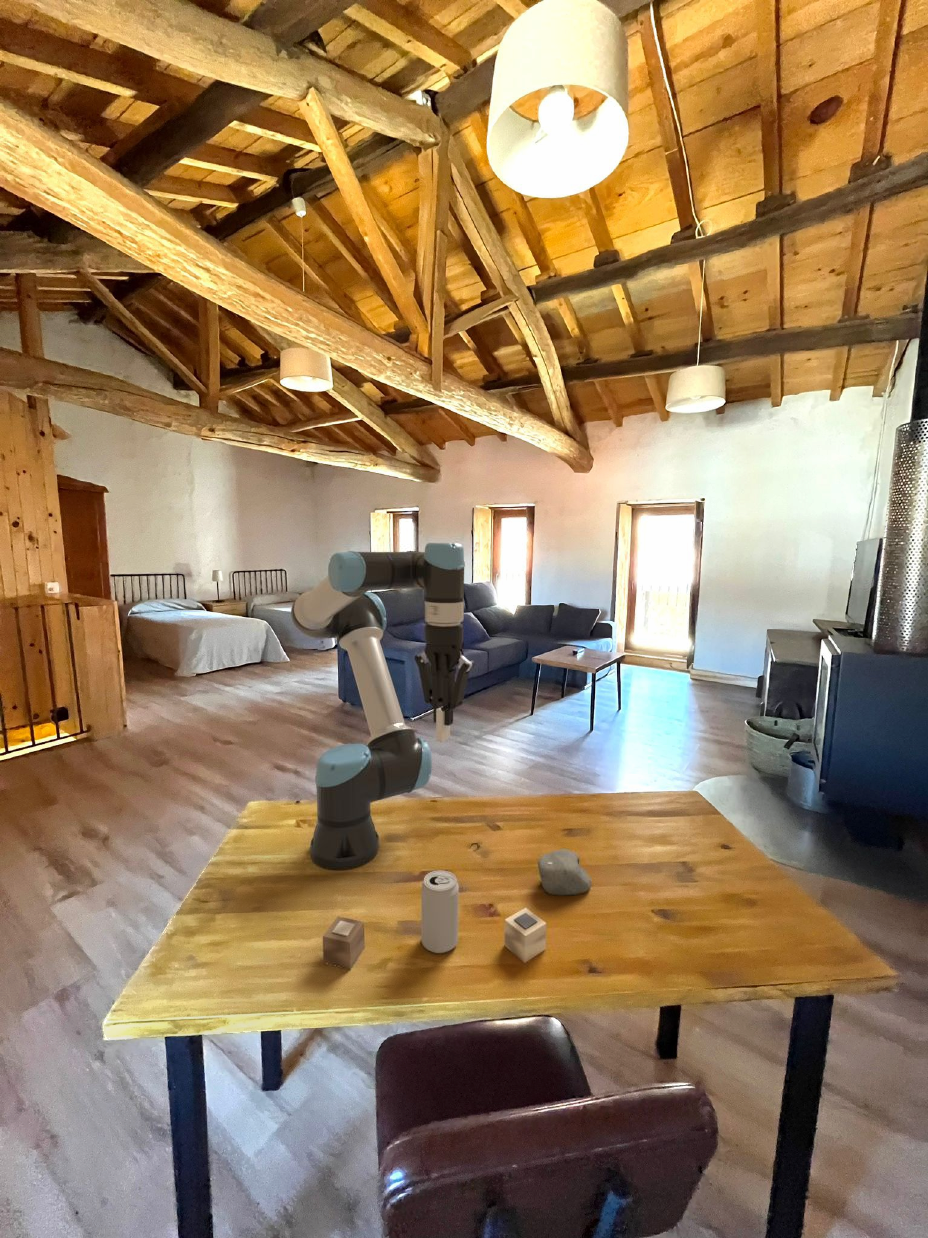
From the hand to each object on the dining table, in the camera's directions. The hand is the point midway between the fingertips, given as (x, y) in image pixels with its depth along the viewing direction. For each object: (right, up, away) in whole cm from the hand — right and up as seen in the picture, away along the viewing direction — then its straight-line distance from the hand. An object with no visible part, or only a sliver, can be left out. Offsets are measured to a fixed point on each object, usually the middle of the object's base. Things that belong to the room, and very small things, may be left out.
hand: (443, 739), depth 108 cm
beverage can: (0, -33, -14) cm, 35 cm away
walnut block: (-16, -33, -17) cm, 40 cm away
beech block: (+15, -33, -15) cm, 39 cm away
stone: (+25, -31, +2) cm, 40 cm away
